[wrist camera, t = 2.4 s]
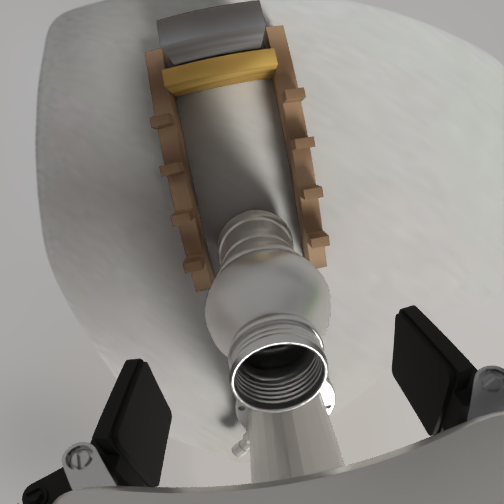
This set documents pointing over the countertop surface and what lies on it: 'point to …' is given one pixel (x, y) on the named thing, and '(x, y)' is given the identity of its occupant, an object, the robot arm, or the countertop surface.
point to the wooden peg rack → (221, 74)
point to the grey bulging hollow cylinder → (268, 314)
